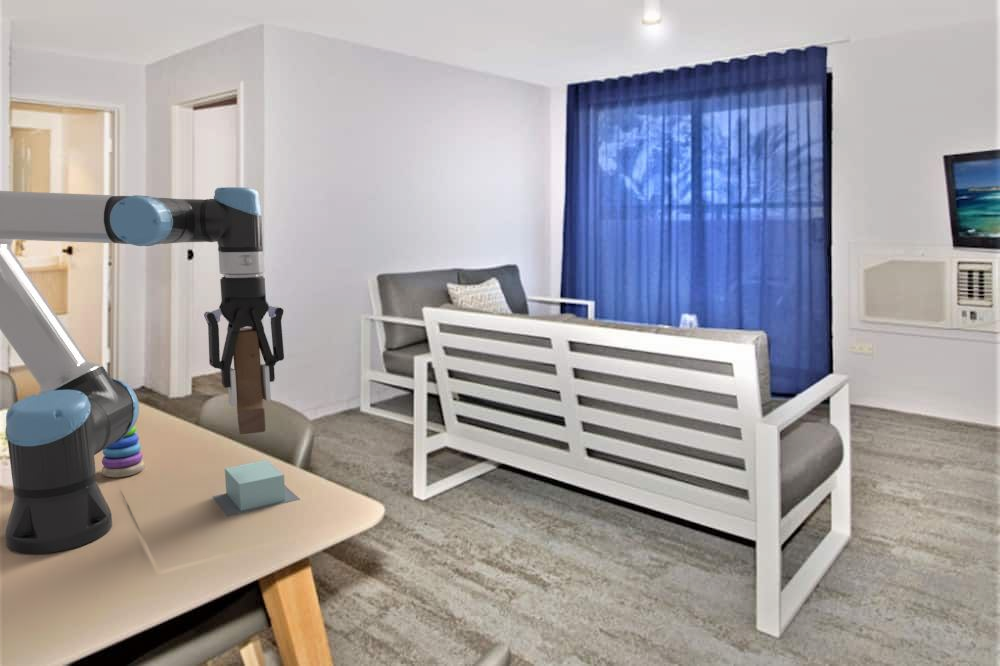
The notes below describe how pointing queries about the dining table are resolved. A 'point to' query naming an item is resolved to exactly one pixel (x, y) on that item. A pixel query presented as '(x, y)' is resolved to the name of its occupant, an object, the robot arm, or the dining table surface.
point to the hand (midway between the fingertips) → (250, 401)
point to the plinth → (254, 484)
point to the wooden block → (249, 382)
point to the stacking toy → (123, 457)
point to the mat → (233, 509)
